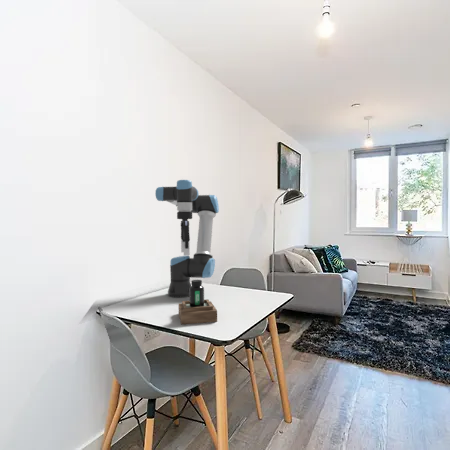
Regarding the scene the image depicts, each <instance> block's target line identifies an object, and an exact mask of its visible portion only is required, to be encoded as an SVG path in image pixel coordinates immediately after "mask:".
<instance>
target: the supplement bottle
mask: <svg viewBox="0 0 450 450" xmlns="http://www.w3.org/2000/svg"><path fill="white" fill-rule="evenodd" d="M190 283H191V287H190V288H189V296H188V297H189V301H190V307H202V306H204V300H205V287H204V286H203V282H202V280H201V279H192V280H190Z"/></svg>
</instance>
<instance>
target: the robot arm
mask: <svg viewBox="0 0 450 450" xmlns="http://www.w3.org/2000/svg"><path fill="white" fill-rule="evenodd" d="M199 194H200V193H199V190H198V189H197V188H196V187H195V186H193V182H192V181H191V179H179V180H177V181H176V186H158V187H156V189H155V199H156V201H158V202H168V203H170V204H172V205H175V207H177V208H176V210H177V213H176V219H177V220H181V221H180V242H181V243H180V244H181V245H180V249H181V253H183V255H179V256H175V257H173V258H171V259H170V265H169V268H170V284H169V287H168V290H167V296H169V297H170V298H185V297H189V288H190V287H191V286H192V285H191V279H190V278H192V279H193V278H195V279H196V278H197V279H198V278H200V279H202V278H203V279H209V278H211V277H213V275H214V272H215V267H216V260H215V259H214V258H213V255H212V253H211V250H212V249H211V247H212V236H213V235H212V234H213V223H214V218H215V217H216V215H217V214H218V213H219V211H220V206H219V200H218V197H217V195H215V194H200V195H199ZM193 214H197V216H198V217H199V219H198V231H197V242H196V252H195V253H194V254H193V257H190V253H191V252H190V240H191V237H190V221H189V220H192V219H193Z"/></svg>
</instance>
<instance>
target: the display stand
mask: <svg viewBox="0 0 450 450" xmlns="http://www.w3.org/2000/svg"><path fill="white" fill-rule="evenodd" d="M178 317H179V321H180V324H181V325H182V326H183V325H192V324H203V323H205V324H206V323H216V322H218V310H217V308H216V306H215V305H214V304H213V302H212V301H211V300H210V299H204V306H202V307H190V300H182V301H181V302H180V303H178Z"/></svg>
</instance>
